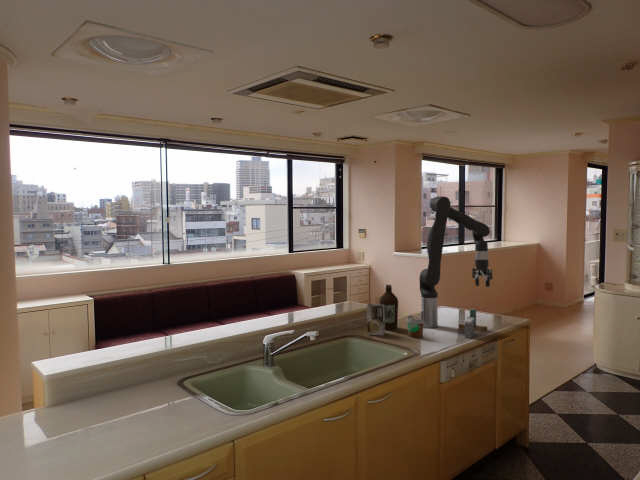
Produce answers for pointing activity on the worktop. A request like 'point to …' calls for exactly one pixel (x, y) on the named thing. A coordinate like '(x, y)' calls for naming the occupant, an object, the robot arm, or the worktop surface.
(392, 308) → the olive oil
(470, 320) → the block
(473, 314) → the beam
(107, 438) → the worktop surface
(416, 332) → the food container
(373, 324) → the coffee box
